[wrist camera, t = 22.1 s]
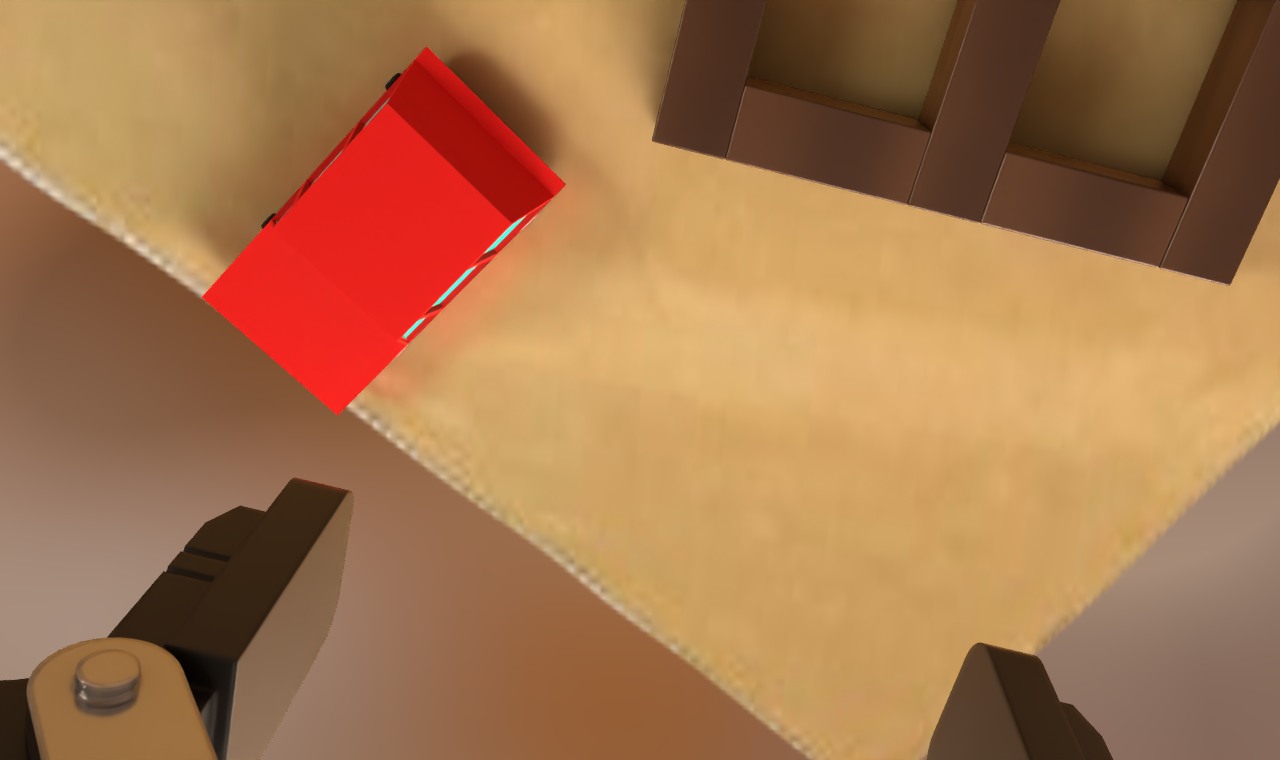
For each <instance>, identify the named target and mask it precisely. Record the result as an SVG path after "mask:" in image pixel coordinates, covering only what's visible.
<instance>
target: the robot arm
mask: <svg viewBox="0 0 1280 760" xmlns="http://www.w3.org/2000/svg"><path fill="white" fill-rule="evenodd" d="M352 510H353V493H352V491H349V490H345V489H341V488H336V487H332V486H328V485H324V484H319V483H315V482H311V481H307V480H303V479H299V478H293V479H291V480H290V482H288V484H287V485H286V486H285V488H284V489H283V490H282V492H281V493H280V494H279V495H278V497H277V498H276V499H275V501H274V502H273V503H272V505H271V506H270V507H269V508H268V510H267V511H266V512H264V511H260V510H256V509H252V508H248V507H243V506H239V507H236V508H234V509H232V510H230V511H228V512H226V513H224V514H222V515H220V516H218V517H216V518H214V519H212V520H210V521H208V522H206V523H205V524H204V525H203V526H202V527H201V528H200V530H199V531H198V532H197V533H196V534H195V535H194V537H193V538H192V539H191V540H190V541H189V542H188V544H187V545H186V546H185V548H184V551H183V552H180V553H179V554H178V555H177V556H176V558H175V559H174V560H173V561H172V562H171V563H170V565H169V566H168V569H167V571H166V572H163V573H162V574H161V575H160V576H159V577H158V579H157V580H156V581H155V582H154V583H153V584H152V586H151V587H150V588H149V589H148V590H147V591H146V593H145V594H144V595H143V596H142V597H141V599H140V600H139V601H138V602H137V603H136V604H135V605H134V606H133V608H132V609H131V610H130V611H129V612H128V614H127V615H126V616H125V617H124V618H123V619H122V620H121V622H120V623H119V624H118V625H117V626H116V627H115V629H114V630H113V631H112V632H111V633H110V635H109V636H108V637H107V638H99V639H92V640H87V641H82V642H79V643H76V644H73V645H70V646H67V647H66V648H63V649H61V650H58V651H57V652H55V653H53V654H52V655H50V656H48V657H47V658H46V659H45V660H43V661H42V662H41V663H40V664H39V665H38V666H37V667H36V668H35V670H34V671H33V672H32V674H31V676H30V678H26V679H19V680H3V681H0V760H261V758H262V756H263V755H264V753H265V751H266V749H267V747H268V745H269V743H270V742H271V740H272V738H273V736H274V734H275V732H276V731H277V728H278V727H279V725H280V723H281V722H282V720H283V718H284V716H285V714H286V712H287V711H288V709H289V707H290V705H291V703H292V701H293V699H294V698H295V696H296V694H297V692H298V690H299V689H300V687H301V684H302V683H303V681H304V679H305V678H306V676H307V674H308V672H309V670H310V668H311V666H312V665H313V663H314V661H315V659H316V657H317V655H318V654H319V652H320V650H321V648H322V646H323V644H324V642H325V640H326V638H327V636H328V633H329V630H330V627H331V625H332V621H333V618H334V615H335V612H336V608H337V604H338V599H339V594H340V588H341V581H342V575H343V568H344V562H345V555H346V548H347V543H348V536H349V530H350V524H351V517H352ZM927 760H1113V758H1112V756H1111V754H1110V752H1109V750H1108V748H1107V746H1106V744H1105V742H1104V740H1103V738H1102V736H1101V735H1100V734H1099V733H1098V732H1097V731H1096V729H1095V728H1094V727H1093V726H1092V725H1091V724H1090V723H1089V722H1088V721H1087V720H1086V719H1085V718H1084V717H1083V716H1082V714H1081V713H1080V712H1079V711H1078V710H1077V709H1076V708H1075V707H1074V706H1073V705H1071V704H1067V703H1063V702H1060V701H1059V699H1058V697H1057V694H1056V692H1055V690H1054V688H1053V686H1052V683H1051V681H1050V679H1049V677H1048V674H1047V672H1046V670H1045V668H1044V666H1043V664H1042V662H1041V660H1040V659H1039V658H1038V657H1037V656H1035V655H1030V654H1026V653H1022V652H1018V651H1014V650H1009V649H1005V648H1001V647H997V646H993V645H988V644H984V643H977V644H975V645H974V646H973V647H972V648H971V649H970V651H969V652H968V654H967V656H966V658H965V660H964V663H963V665H962V667H961V670H960V672H959V674H958V677H957V679H956V681H955V684H954V686H953V689H952V691H951V693H950V696H949V698H948V700H947V703H946V705H945V707H944V710H943V712H942V714H941V717H940V719H939V722H938V724H937V726H936V729H935V731H934V733H933V736H932V739H931V742H930V745H929V750H928V755H927Z"/></svg>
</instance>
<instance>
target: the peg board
mask: <svg viewBox="0 0 1280 760" xmlns="http://www.w3.org/2000/svg"><path fill="white" fill-rule="evenodd" d="M1059 3H1060V0H958V2H957V5H956V8H955V11H954V14H953V17H952V20H951V23H950V26H949V29H948V32H947V35H946V38H945V41H944V44H943V47H942V50H941V53H940V56H939V59H938V62H937V66H936V69H935V72H934V75H933V78H932V81H931V84H930V87H929V90H928V93H927V96H926V99H925V102H924V105H923V108H922V111H921V114H920V117H919V120H917V119H914V118H910V117H906V116H902V115H898V114H894V113H890V112H886V111H882V110H878V109H874V108H870V107H867V106H863V105H859V104H855V103H851V102H847V101H843V100H839V99H835V98H831V97H827V96H823V95H819V94H815V93H811V92H807V91H803V90H799V89H795V88H791V87H788V86H784V85H780V84H776V83H772V82H768V81H764V80H760V79H756V78H752V77H748V76H747V75H748V71H749V67H750V64H751V60H752V56H753V52H754V49H755V45H756V41H757V37H758V34H759V30H760V26H761V22H762V19H763V15H764V11H765V8H766V4H767V0H685V4H684V8H683V12H682V16H681V21H680V25H679V29H678V33H677V37H676V41H675V46H674V50H673V54H672V58H671V62H670V66H669V71H668V75H667V79H666V83H665V87H664V91H663V96H662V100H661V104H660V108H659V112H658V116H657V121H656V125H655V129H654V133H653V137H652V141H653V142H656V143H660V144H664V145H668V146H672V147H676V148H680V149H684V150H688V151H692V152H696V153H700V154H704V155H708V156H712V157H716V158H720V159H725V158H726V160H728V161H732V162H736V163H740V164H744V165H748V166H752V167H756V168H760V169H764V170H768V171H772V172H776V173H780V174H784V175H788V176H792V177H796V178H800V179H804V180H808V181H812V182H816V183H820V184H824V185H828V186H832V187H836V188H840V189H844V190H848V191H851V192H855V193H859V194H863V195H867V196H871V197H875V198H879V199H883V200H887V201H891V202H895V203H899V204H903V205H908V206H911V207H915V208H919V209H923V210H927V211H931V212H935V213H939V214H943V215H947V216H951V217H955V218H959V219H963V220H967V221H971V222H975V223H979V222H980V223H981V224H984V225H988V226H992V227H996V228H1000V229H1004V230H1008V231H1012V232H1016V233H1020V234H1024V235H1028V236H1032V237H1036V238H1040V239H1044V240H1048V241H1052V242H1056V243H1060V244H1064V245H1068V246H1072V247H1076V248H1080V249H1084V250H1088V251H1092V252H1096V253H1100V254H1104V255H1108V256H1112V257H1115V258H1119V259H1123V260H1127V261H1131V262H1135V263H1139V264H1143V265H1147V266H1151V267H1155V268H1156V267H1159V268H1160V269H1163V270H1167V271H1171V272H1175V273H1179V274H1183V275H1187V276H1191V277H1195V278H1199V279H1203V280H1207V281H1211V282H1215V283H1219V284H1223V285H1227V286H1228V285H1230V284H1231V282H1232V280H1233V278H1234V276H1235V274H1236V272H1237V269H1238V267H1239V265H1240V263H1241V261H1242V259H1243V257H1244V254H1245V252H1246V250H1247V248H1248V246H1249V244H1250V241H1251V239H1252V237H1253V235H1254V233H1255V231H1256V228H1257V226H1258V224H1259V222H1260V220H1261V218H1262V215H1263V213H1264V211H1265V209H1266V207H1267V205H1268V203H1269V200H1270V198H1271V196H1272V194H1273V192H1274V190H1275V187H1276V185H1277V183H1278V181H1279V179H1280V0H1238V1H1237V4H1236V6H1235V9H1234V11H1233V13H1232V16H1231V18H1230V20H1229V23H1228V25H1227V27H1226V30H1225V32H1224V35H1223V37H1222V39H1221V42H1220V44H1219V46H1218V49H1217V51H1216V54H1215V56H1214V58H1213V61H1212V63H1211V65H1210V68H1209V70H1208V72H1207V75H1206V77H1205V80H1204V82H1203V84H1202V87H1201V89H1200V91H1199V94H1198V96H1197V99H1196V101H1195V103H1194V106H1193V108H1192V110H1191V113H1190V115H1189V117H1188V120H1187V122H1186V125H1185V127H1184V129H1183V132H1182V134H1181V136H1180V139H1179V141H1178V144H1177V146H1176V148H1175V151H1174V153H1173V155H1172V158H1171V160H1170V163H1169V165H1168V167H1167V170H1166V172H1165V174H1164V177H1163V179H1162V181H1159V180H1155V179H1151V178H1147V177H1143V176H1139V175H1135V174H1131V173H1127V172H1123V171H1119V170H1115V169H1111V168H1107V167H1103V166H1099V165H1095V164H1091V163H1087V162H1083V161H1080V160H1076V159H1072V158H1068V157H1064V156H1060V155H1056V154H1052V153H1048V152H1044V151H1040V150H1036V149H1032V148H1028V147H1024V146H1020V145H1016V144H1012V143H1009V140H1010V137H1011V135H1012V132H1013V129H1014V126H1015V124H1016V121H1017V118H1018V115H1019V113H1020V110H1021V107H1022V104H1023V102H1024V99H1025V96H1026V93H1027V91H1028V88H1029V85H1030V82H1031V80H1032V77H1033V74H1034V71H1035V69H1036V66H1037V63H1038V60H1039V58H1040V55H1041V52H1042V49H1043V47H1044V44H1045V41H1046V38H1047V36H1048V33H1049V30H1050V27H1051V25H1052V22H1053V19H1054V16H1055V14H1056V11H1057V8H1058V5H1059Z"/></svg>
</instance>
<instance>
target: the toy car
mask: <svg viewBox="0 0 1280 760" xmlns="http://www.w3.org/2000/svg"><path fill="white" fill-rule="evenodd" d="M385 88H386V90H387V91H386V92H385V93H384V94H383V96H382V97H381V98H380V99H379V100H378V101H377V102H376V103H375V104H374V106H373V107H372V108H371V109H370V110H369V111H368V112H367V113H366V115H365V116H364V117H363V118H362V119H361V120H360V121H359V122H358V124H357V125H356V126H355V127H354V128H353V129H352V130H351V131H350V132H349V133H348V135H347V136H346V137H345V138H344V139H343V140H342V141H341V142H340V143H339V145H338V146H337V147H336V148H335V149H334V150H333V151H332V152H331V154H330V155H329V156H328V157H327V158H326V159H325V160H324V161H323V162H322V164H321V165H320V166H319V167H318V168H317V169H316V170H315V171H314V172H313V174H312V175H311V176H310V177H309V178H308V179H307V180H306V181H305V183H304V184H303V185H302V186H301V187H300V188H299V189H298V190H297V191H296V193H295V194H294V195H293V196H292V197H291V198H290V199H289V200H288V201H287V203H286V204H285V205H284V206H283V207H282V208H281V209H280V210H279V211H278V213H277V214H274V213H273V214H272V215H270V216H269V217H268V218H267V219H266V220H265V221H264V222H263V224H262V225H261V227H262V229H263V230H262V231H261V232H260V233H259V234H258V235H257V236H256V237H255V238H254V240H253V241H252V242H251V243H250V244H249V245H248V246H247V247H246V248H245V250H244V251H243V252H242V253H241V254H240V255H239V256H238V257H237V259H236V260H235V261H234V262H233V263H232V264H231V265H230V266H229V267H228V269H227V270H226V271H225V272H224V273H223V274H222V275H221V276H220V277H219V279H218V280H217V281H216V282H215V283H214V284H213V285H212V286H211V288H210V289H209V290H208V291H207V292H206V293H205V294H204V295H203V296H202V298H203V299H205V300H206V301H207V302H208V303H209V304H210V305H211V306H213V307H214V308H215V309H216V310H217V311H218V312H219V313H221V314H222V315H223V316H224V317H225V318H226V319H228V320H229V321H230V322H231V323H232V324H233V325H235V326H236V327H237V328H238V329H239V330H240V331H241V332H242V333H244V334H245V335H246V336H247V337H248V338H249V339H251V340H252V341H253V342H254V343H255V344H256V345H258V346H259V347H260V348H261V349H262V350H263V351H264V352H265V353H267V354H268V355H269V356H270V357H271V358H272V359H273V360H275V361H276V362H277V363H278V364H279V365H280V366H282V367H283V368H284V369H285V370H286V371H287V372H288V373H290V374H291V375H292V376H293V377H294V378H295V379H296V380H298V381H299V382H300V383H301V384H302V385H303V386H304V387H306V388H307V389H308V390H309V391H310V392H311V393H313V394H314V395H315V396H316V397H317V398H318V399H319V400H321V401H322V402H323V403H324V404H325V405H326V406H328V407H329V408H330V409H331V410H332V411H333V412H334V413H336V414H337V415H338V414H339V413H340V412H341V411H342V410H343V409H344V408H345V407H346V406H347V405H348V404H349V403H350V402H351V401H352V400H353V399H354V398H355V397H356V396H357V395H358V394H359V393H360V392H361V391H362V390H363V389H364V388H365V387H366V386H367V385H368V384H369V383H370V382H371V381H372V380H373V379H374V378H375V377H376V376H377V375H378V374H379V373H380V372H381V371H382V370H383V369H384V368H385V367H386V366H387V365H388V364H389V363H390V362H391V361H392V360H393V359H395V358H396V357H397V356H398V355H399V354H400V353H401V352H402V351H403V350H404V349H405V348H406V347H407V346H408V345H409V344H410V343H411V342H412V341H413V339H414V338H415V337H416V336H417V335H418V334H419V333H420V332H421V331H422V330H423V329H424V328H425V327H426V326H427V325H428V324H429V323H430V322H431V321H432V319H433V318H434V317H435V316H436V315H437V314H438V313H439V312H440V311H441V310H442V309H443V308H444V307H445V306H446V305H447V304H448V303H449V302H450V301H451V300H452V299H453V298H454V297H455V296H456V295H457V294H458V293H459V292H460V291H461V290H462V289H463V288H464V287H465V286H466V285H467V284H468V283H469V282H470V281H471V280H472V279H473V278H474V277H475V276H476V275H477V274H478V273H479V272H480V271H481V270H482V269H483V268H484V267H485V266H486V265H487V264H488V263H489V262H490V261H491V260H492V259H493V258H494V257H495V256H496V255H497V254H498V253H499V252H500V251H501V250H502V249H503V248H504V247H505V246H506V245H507V244H508V243H509V242H510V241H511V240H512V239H513V238H514V237H515V236H516V235H517V234H518V233H519V232H520V231H522V230H523V229H524V228H525V227H526V226H527V225H528V224H529V223H530V222H531V221H532V220H533V219H534V218H535V217H536V216H537V215H538V214H539V213H540V212H541V211H542V210H543V208H544V207H545V205H546V204H547V203H548V202H549V201H550V200H551V199H552V198H553V197H554V196H555V195H556V194H557V193H558V192H559V191H560V190H561V189H562V188H563V187H564V186H565V185H566V184H565V183H564V182H563V181H562V180H561V179H560V178H559V177H558V176H557V175H556V174H555V173H554V172H553V171H552V170H551V169H550V168H549V167H548V166H547V165H546V164H545V163H544V162H543V161H542V160H541V159H540V158H539V157H538V156H537V155H536V154H535V153H534V152H533V151H532V150H531V149H530V148H529V147H528V146H527V145H526V144H525V143H524V142H523V141H522V140H521V139H520V138H519V137H518V136H517V135H515V134H514V133H513V132H512V131H511V130H510V129H509V128H508V127H507V126H506V125H505V124H504V123H503V122H502V121H501V120H500V119H499V118H498V117H497V116H496V115H495V114H494V113H493V112H492V111H491V110H490V109H489V108H488V107H487V106H486V105H485V104H484V103H483V102H482V101H481V100H480V99H479V98H478V97H477V96H476V95H475V94H474V93H473V92H472V91H471V90H470V89H469V88H468V87H467V86H466V85H465V84H464V83H463V82H462V81H461V80H460V79H459V78H458V77H457V76H456V75H455V74H454V73H453V72H452V71H451V70H450V69H449V68H448V67H447V66H446V65H445V64H444V63H443V62H442V61H441V60H440V59H439V58H438V57H437V56H436V55H435V54H434V53H433V52H432V51H431V50H430V49H429V48H428V47H426V48H425V49H424V50H423V51H422V52H421V53H420V54H419V56H418V57H417V58H416V59H415V60H414V61H413V62H412V63H411V64H410V65H409V67H408V68H407V69H406V70H405V71H404V72H403V73H402V74H400V73H397V74H396V75H394V76H393V77H392V78H391V79H390V80H389V81H388V83H387V84H386V86H385Z"/></svg>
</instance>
